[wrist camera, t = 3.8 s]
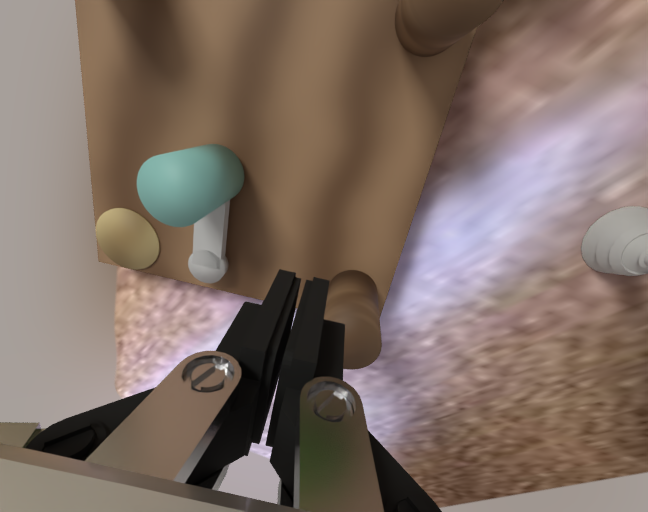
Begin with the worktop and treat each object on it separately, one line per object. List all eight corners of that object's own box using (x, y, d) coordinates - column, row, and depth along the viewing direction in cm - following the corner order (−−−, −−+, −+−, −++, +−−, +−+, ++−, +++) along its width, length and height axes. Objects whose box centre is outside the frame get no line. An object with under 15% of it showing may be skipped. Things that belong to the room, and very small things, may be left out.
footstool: (480, -15, 18) (565, -106, 11) (375, 309, 28) (380, 386, 20) (99, -100, 19) (-86, -248, 11) (120, 249, 28) (26, 302, 20)
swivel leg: (247, 150, 20) (209, 163, 15) (233, 283, 24) (200, 327, 19) (190, 137, 20) (135, 146, 16) (186, 272, 24) (141, 313, 19)
